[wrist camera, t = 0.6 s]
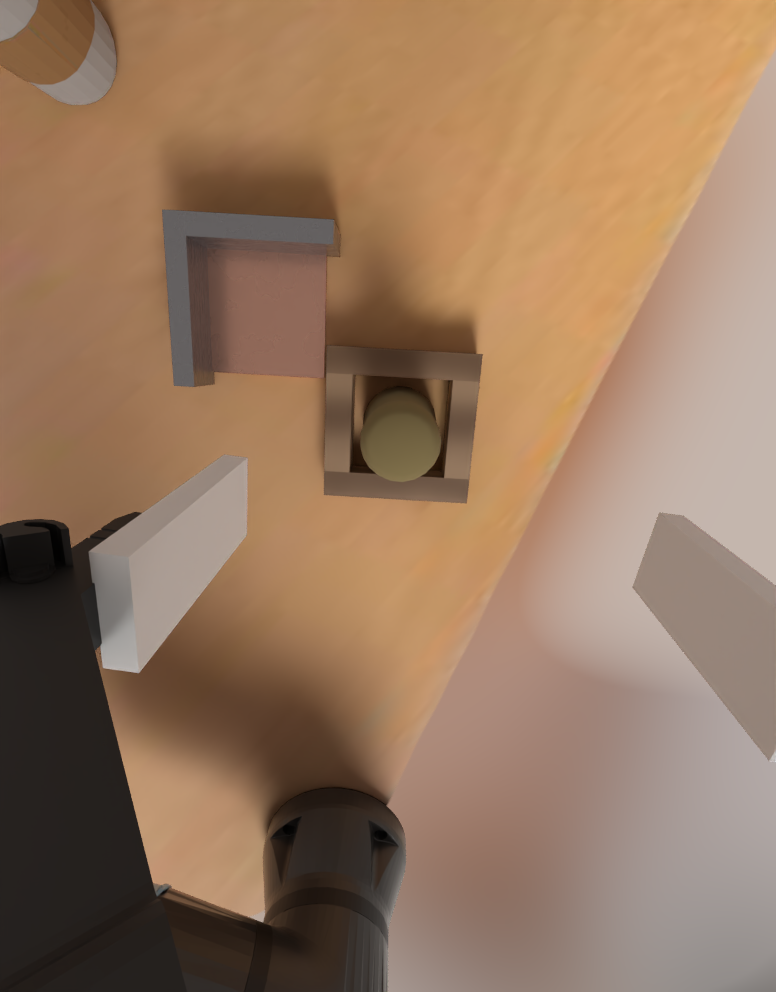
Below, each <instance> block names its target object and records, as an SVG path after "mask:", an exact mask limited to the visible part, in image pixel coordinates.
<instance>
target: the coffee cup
mask: <svg viewBox="0 0 776 992" xmlns="http://www.w3.org/2000/svg"><path fill="white" fill-rule="evenodd" d="M0 65H1V66H3V67H4V68H6V69H7V70H9V71H10V72H12V73H13V74H15V75H17V76H18V77H20V78H21V79H23V80H25V81H27V82H30V83H31V84H33V85H34V86H36V87H37V88H39V89H40V90H42V91H43V92H45V93H46V94H48V95H50V96H51V97H53V98H54V99H56V100H58V101H60V102H63V103H66V104H70V105H88V104H90V103H93V102H96V101H98V100H99V99H101V98H102V97H103V96H105V95H106V93H107V92H108V90H109V89H110V87H111V86H112V83H113V81H114V78H115V75H116V65H117V59H116V51H115V46H114V40H113V37H112V35H111V32H110V29H109V26H108V25H107V23H106V21H105V20H104V18H103V16H102V14H101V13H100V11H99V10H98V9H97V7H96V6H95V5H94V3H93V2H92V1H91V0H0Z"/></svg>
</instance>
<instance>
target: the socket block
mask: <svg viewBox="0 0 776 992" xmlns="http://www.w3.org/2000/svg"><path fill="white" fill-rule="evenodd" d="M482 355H483V354H469V353H452V352H435V351H418V350H400V349H383V348H366V347H349V346H332V345H327V362H326V413H325V464H324V495H333V496H350V497H367V498H384V499H401V500H418V501H435V502H452V503H467V495H468V486H469V477H470V467H471V458H472V449H473V439H474V430H475V420H476V411H477V402H478V392H479V383H480V374H481V364H482ZM356 375H370V376H387V377H404V378H421V379H438V380H449V390H448V401H447V412H446V423H445V434H444V446H443V457H442V468H441V471H437V470H428V471H427V473H425V474H424V475H422V476H420V477H418V478H416V479H415V480H410V481H405V482H397V481H390V480H387V479H385V478H383V477H380V476H378V475H377V474H376V473H375V472H374V471H373V470H372V469H370V468H369V466H352V458H353V431H354V403H355V376H356Z"/></svg>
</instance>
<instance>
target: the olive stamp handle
mask: <svg viewBox="0 0 776 992" xmlns="http://www.w3.org/2000/svg"><path fill="white" fill-rule="evenodd" d="M360 447H361V451H362V456H363V458H364V460H365V461H366V463H367V465H368V466H369V468H370V469H372V470H373V471H374V472H375V473H376V474H377V475H378V476H380V477H383V478H385V479H387V480H390V481H397V482H405V481H410V480H415V479H416V478H418V477H420V476H422V475H424V474H425V473H427V471H428V470H429V469H430V468H431V467H432V466H433V465H434V464H435V462H436V460H437V458H438V456H439V453H440V448H441V435H440V430H439V426H438V425H437V423H436V419H435V414H434V409H433V408H432V406H431V404H430V402H429V400H428V399H427V398H426V397H424V396H423V395H422V394H421V393H420V392H418V391H416V390H414V389H412V388H409V387H401V386H396V387H392V388H387V389H385V390H383V391H382V392H380V393H378V394H377V395H376V396H375V397H374V398H373V399H372V400H371V401H370V403H369V404H368V406H367V409H366V411H365V413H364V423H363V428H362V431H361V437H360Z"/></svg>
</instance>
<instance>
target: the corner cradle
mask: <svg viewBox="0 0 776 992" xmlns="http://www.w3.org/2000/svg"><path fill="white" fill-rule="evenodd" d="M162 215H163V230H164V244H165V259H166V274H167V289H168V304H169V319H170V334H171V349H172V364H173V379H174V386H188V387H197V386H205V385H213V384H214V372H226V373H243V374H260V375H277V376H294V377H311V378H325V329H326V276H327V256H333V257H340V238H341V235H340V232H339V230H338V228H337V226H336V223H335V221H334V220H332V219H315V218H298V217H281V216H263V215H246V214H229V213H212V212H195V211H178V210H162Z"/></svg>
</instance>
